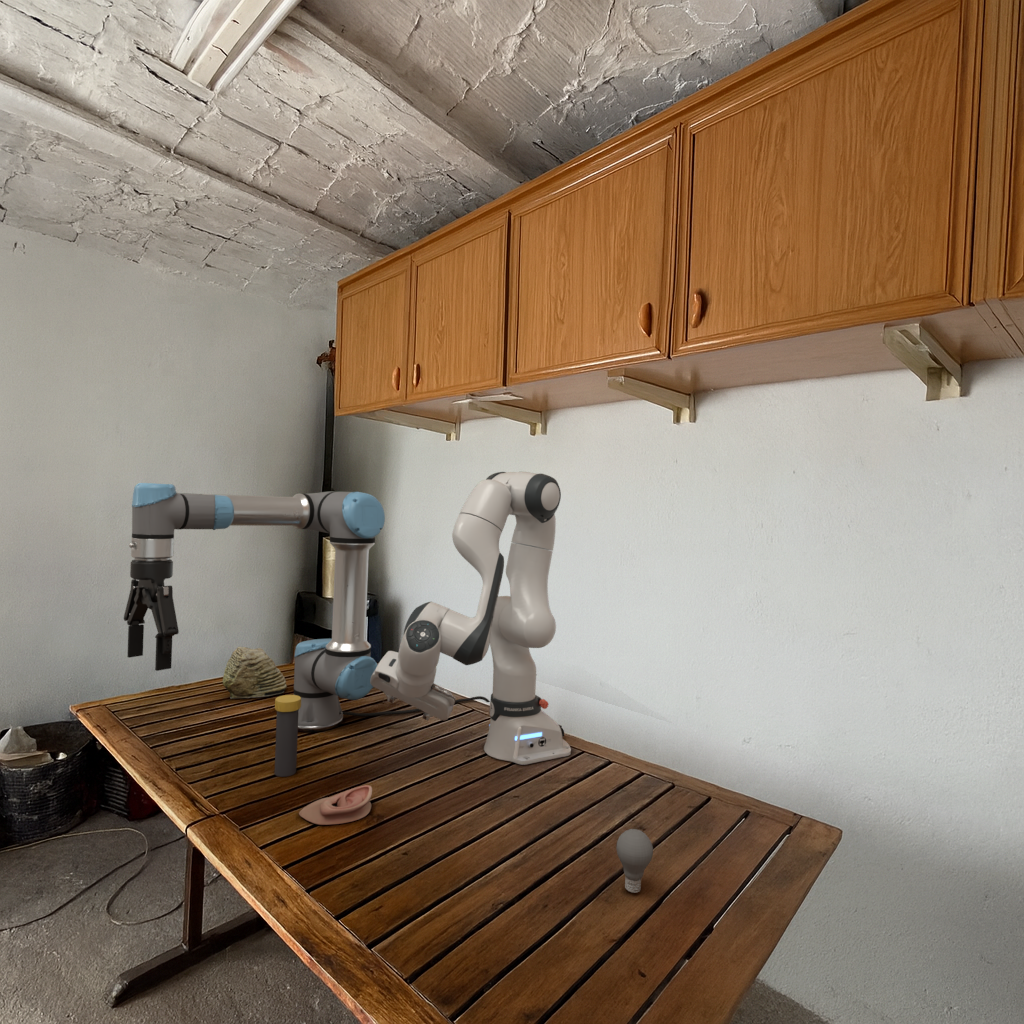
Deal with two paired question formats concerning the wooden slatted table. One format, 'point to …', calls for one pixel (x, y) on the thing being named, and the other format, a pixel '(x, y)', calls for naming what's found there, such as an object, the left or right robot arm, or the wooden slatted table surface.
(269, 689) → the fossil
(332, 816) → the anatomical model
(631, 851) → the light bulb
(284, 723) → the jar
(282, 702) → the lid
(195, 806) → the wooden slatted table surface
